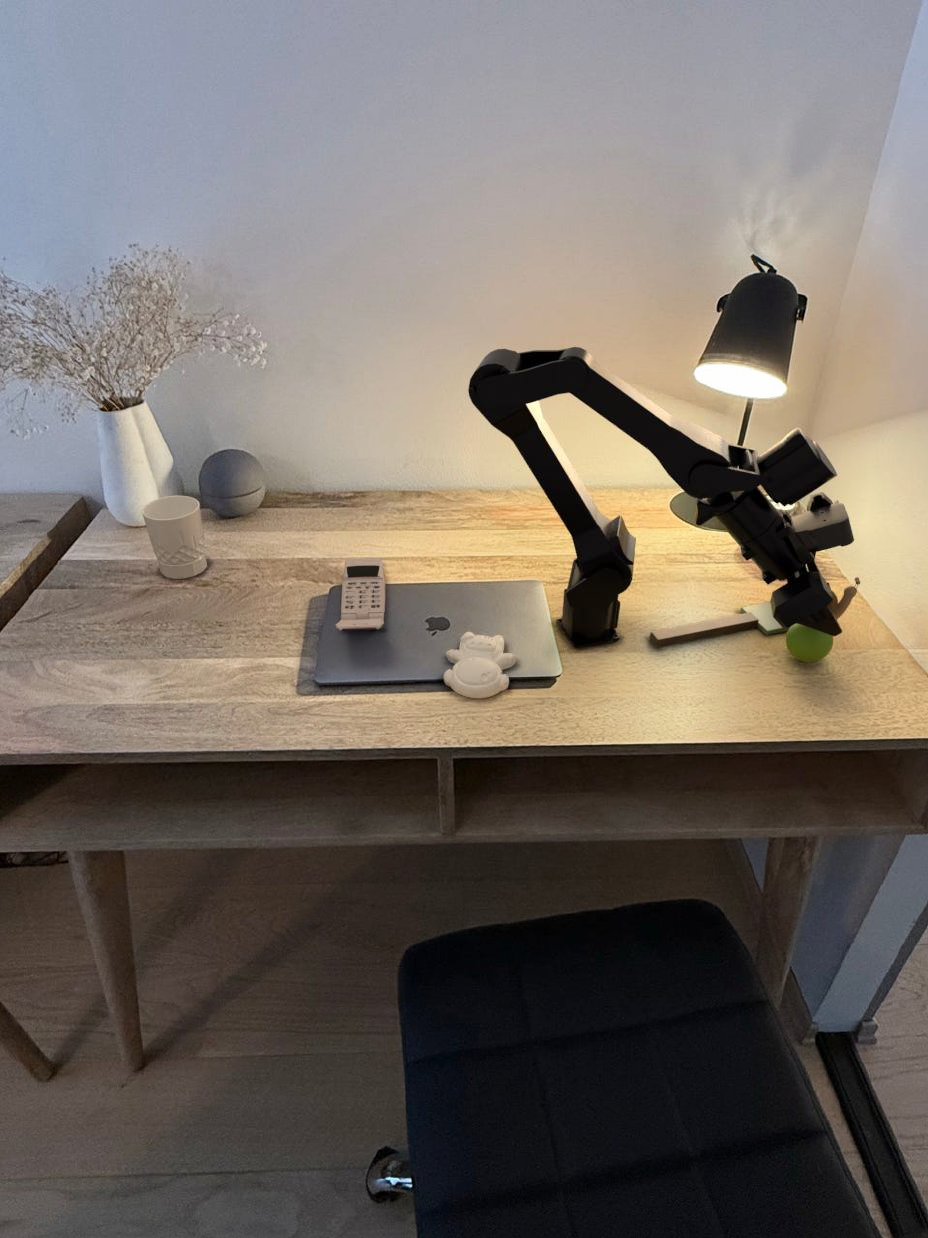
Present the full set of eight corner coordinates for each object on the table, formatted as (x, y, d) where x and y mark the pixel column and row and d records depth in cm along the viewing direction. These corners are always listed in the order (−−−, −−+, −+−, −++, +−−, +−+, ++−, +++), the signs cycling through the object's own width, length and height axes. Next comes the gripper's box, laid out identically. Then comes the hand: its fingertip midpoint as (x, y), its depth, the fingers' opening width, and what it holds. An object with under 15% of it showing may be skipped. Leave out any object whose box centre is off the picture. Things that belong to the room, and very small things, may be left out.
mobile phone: (334, 628, 99) (342, 530, 120) (337, 667, 102) (344, 566, 123) (384, 626, 100) (383, 529, 120) (386, 665, 103) (385, 564, 124)
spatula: (664, 656, 104) (666, 648, 104) (642, 630, 109) (643, 623, 108) (811, 626, 110) (813, 618, 109) (783, 603, 115) (785, 595, 114)
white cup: (145, 575, 121) (129, 514, 116) (179, 551, 127) (166, 491, 122) (189, 586, 119) (175, 523, 113) (222, 560, 125) (210, 500, 119)
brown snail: (838, 674, 101) (865, 591, 94) (784, 668, 102) (806, 585, 96) (831, 649, 106) (856, 567, 99) (779, 643, 107) (800, 562, 100)
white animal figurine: (522, 646, 106) (523, 626, 104) (503, 703, 96) (504, 683, 95) (456, 636, 108) (456, 617, 106) (431, 692, 98) (430, 672, 97)
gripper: (832, 522, 84) (916, 624, 88) (808, 452, 99) (880, 542, 103) (738, 580, 90) (821, 673, 94) (729, 506, 105) (800, 589, 109)
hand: (833, 615), depth 100 cm, fingers open, 8 cm apart
